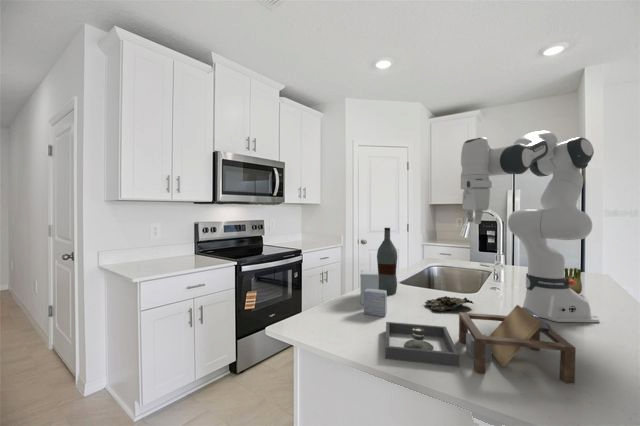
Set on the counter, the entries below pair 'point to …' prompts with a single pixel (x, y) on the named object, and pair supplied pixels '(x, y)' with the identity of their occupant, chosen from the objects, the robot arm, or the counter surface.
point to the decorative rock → (446, 303)
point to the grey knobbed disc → (418, 340)
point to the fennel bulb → (575, 277)
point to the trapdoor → (516, 331)
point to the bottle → (387, 264)
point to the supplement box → (368, 282)
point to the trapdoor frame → (516, 344)
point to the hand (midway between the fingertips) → (473, 223)
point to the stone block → (471, 347)
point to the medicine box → (375, 302)
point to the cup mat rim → (421, 354)
